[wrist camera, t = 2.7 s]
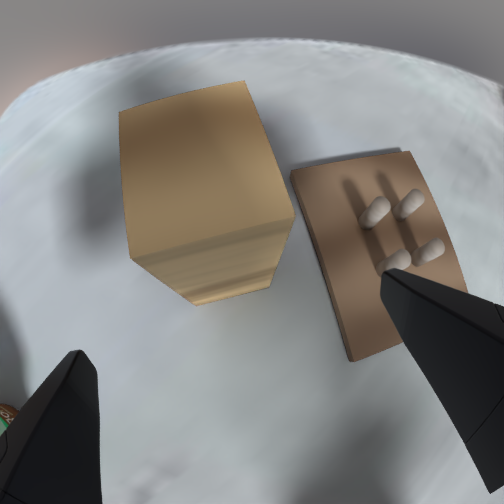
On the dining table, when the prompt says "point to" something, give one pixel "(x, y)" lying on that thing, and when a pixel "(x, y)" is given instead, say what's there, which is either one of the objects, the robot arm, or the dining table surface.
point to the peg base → (373, 239)
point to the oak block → (203, 193)
